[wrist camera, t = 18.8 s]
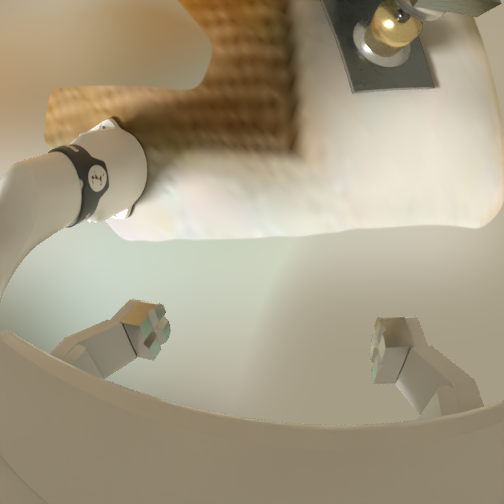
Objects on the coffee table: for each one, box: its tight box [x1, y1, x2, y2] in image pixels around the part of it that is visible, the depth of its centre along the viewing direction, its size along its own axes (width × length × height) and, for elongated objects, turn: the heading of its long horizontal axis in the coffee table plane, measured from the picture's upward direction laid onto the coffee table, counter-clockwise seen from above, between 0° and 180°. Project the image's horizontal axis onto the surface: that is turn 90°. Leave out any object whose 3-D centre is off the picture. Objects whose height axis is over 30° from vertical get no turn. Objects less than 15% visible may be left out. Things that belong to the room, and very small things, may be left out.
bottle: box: [364, 0, 422, 57], centre depth 19 cm, size 5×5×10 cm
